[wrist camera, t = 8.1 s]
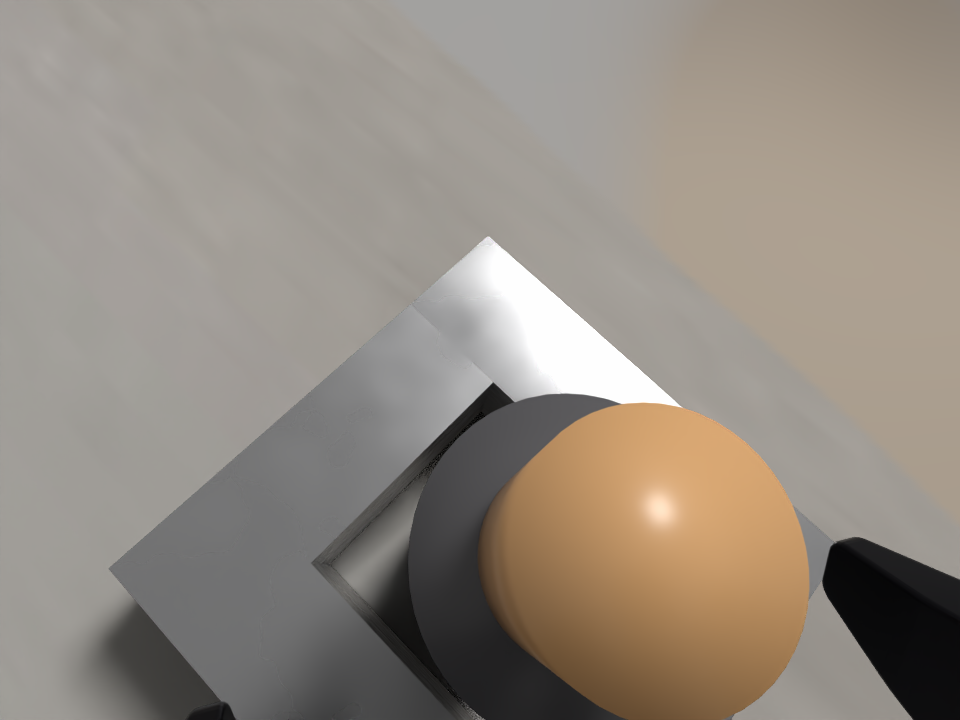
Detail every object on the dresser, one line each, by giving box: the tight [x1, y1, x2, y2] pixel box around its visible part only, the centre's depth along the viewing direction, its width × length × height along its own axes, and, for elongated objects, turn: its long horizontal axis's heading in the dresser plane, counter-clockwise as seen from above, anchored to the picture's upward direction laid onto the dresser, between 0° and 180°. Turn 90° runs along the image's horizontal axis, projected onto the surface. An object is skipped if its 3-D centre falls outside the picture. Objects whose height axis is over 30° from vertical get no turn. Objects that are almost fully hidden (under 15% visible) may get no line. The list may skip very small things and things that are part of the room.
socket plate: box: [109, 237, 834, 720], centre depth 15 cm, size 12×12×3 cm
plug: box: [408, 393, 809, 720], centre depth 10 cm, size 4×4×12 cm
